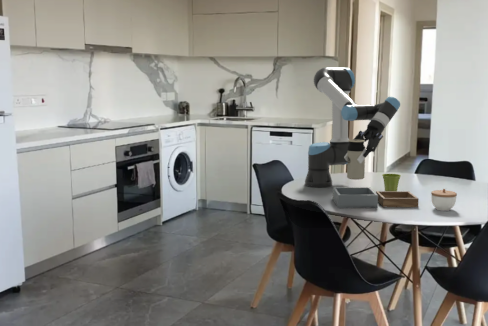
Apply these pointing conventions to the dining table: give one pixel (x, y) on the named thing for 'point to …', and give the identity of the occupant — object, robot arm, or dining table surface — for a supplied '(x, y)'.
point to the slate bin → (355, 197)
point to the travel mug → (355, 159)
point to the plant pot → (391, 181)
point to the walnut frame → (397, 199)
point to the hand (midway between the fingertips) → (352, 160)
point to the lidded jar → (443, 199)
